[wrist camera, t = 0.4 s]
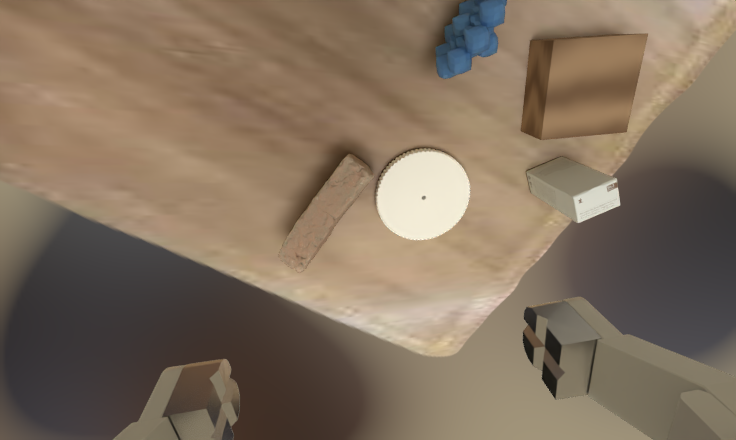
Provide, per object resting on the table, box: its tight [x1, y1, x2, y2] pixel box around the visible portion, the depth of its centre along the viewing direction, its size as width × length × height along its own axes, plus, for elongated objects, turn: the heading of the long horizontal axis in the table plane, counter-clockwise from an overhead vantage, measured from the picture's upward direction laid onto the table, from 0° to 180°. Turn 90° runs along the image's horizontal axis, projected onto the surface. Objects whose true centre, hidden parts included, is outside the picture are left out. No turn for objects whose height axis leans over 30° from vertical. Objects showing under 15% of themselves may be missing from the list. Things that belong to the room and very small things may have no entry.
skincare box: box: [526, 157, 620, 223], centre depth 54 cm, size 6×4×12 cm
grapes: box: [436, 0, 507, 79], centre depth 45 cm, size 12×7×12 cm, turn 148°
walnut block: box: [521, 34, 648, 140], centre depth 52 cm, size 12×12×6 cm
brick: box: [278, 154, 374, 273], centre depth 53 cm, size 16×8×5 cm
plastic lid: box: [375, 148, 470, 240], centre depth 58 cm, size 14×14×2 cm
